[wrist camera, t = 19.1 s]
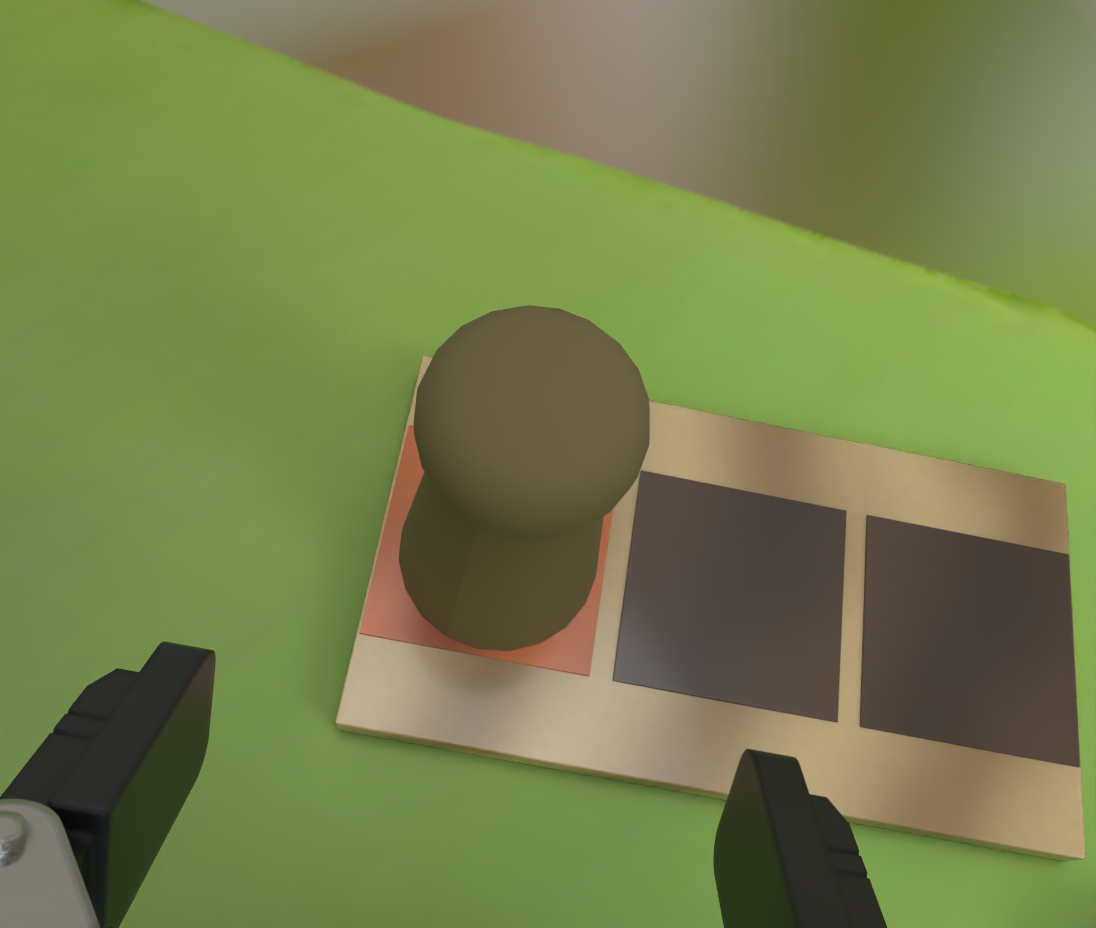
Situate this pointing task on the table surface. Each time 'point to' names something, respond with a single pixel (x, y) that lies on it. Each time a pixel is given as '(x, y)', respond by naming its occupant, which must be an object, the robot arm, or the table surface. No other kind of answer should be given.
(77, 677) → the table surface
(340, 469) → the table surface
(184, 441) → the table surface
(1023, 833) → the board
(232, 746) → the table surface
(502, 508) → the olive brown pawn
